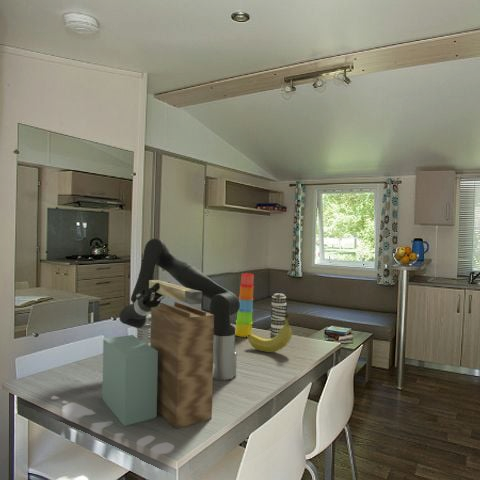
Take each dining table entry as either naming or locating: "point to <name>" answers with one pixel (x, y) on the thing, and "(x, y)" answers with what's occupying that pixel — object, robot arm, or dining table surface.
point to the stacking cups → (245, 306)
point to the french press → (145, 332)
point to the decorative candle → (277, 313)
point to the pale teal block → (130, 379)
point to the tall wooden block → (183, 362)
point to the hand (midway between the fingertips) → (164, 284)
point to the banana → (274, 343)
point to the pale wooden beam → (178, 292)
